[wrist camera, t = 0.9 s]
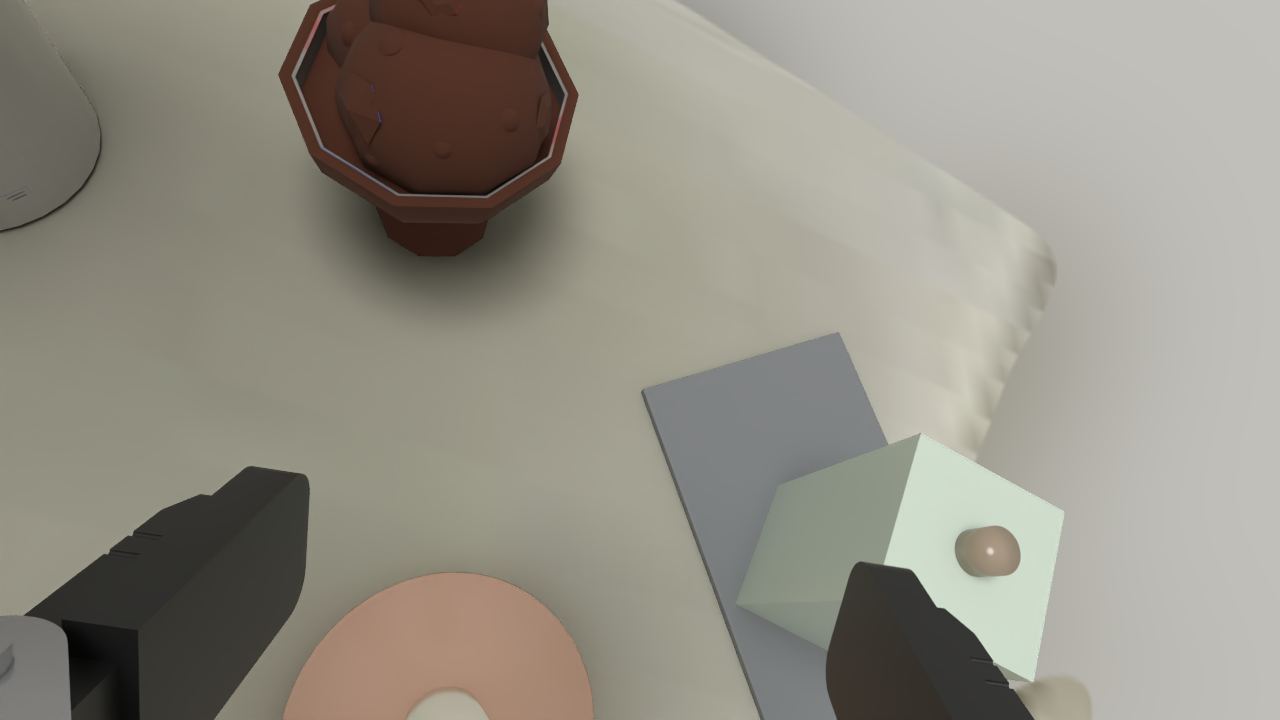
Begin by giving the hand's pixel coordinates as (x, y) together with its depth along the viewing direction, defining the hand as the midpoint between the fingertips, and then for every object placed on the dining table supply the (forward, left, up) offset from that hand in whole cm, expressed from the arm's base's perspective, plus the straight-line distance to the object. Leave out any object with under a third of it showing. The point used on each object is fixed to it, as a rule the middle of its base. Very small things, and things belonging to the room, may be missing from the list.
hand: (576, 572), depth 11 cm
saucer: (+4, -3, -23) cm, 23 cm away
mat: (+2, +16, -23) cm, 28 cm away
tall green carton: (+4, +15, -23) cm, 28 cm away
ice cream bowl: (-19, +3, -23) cm, 30 cm away
